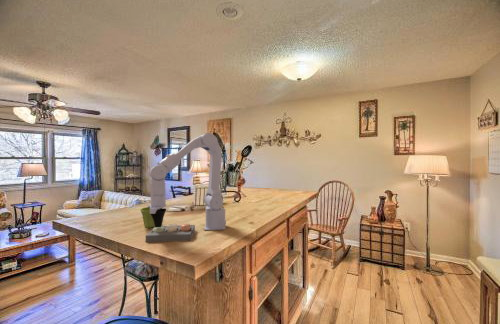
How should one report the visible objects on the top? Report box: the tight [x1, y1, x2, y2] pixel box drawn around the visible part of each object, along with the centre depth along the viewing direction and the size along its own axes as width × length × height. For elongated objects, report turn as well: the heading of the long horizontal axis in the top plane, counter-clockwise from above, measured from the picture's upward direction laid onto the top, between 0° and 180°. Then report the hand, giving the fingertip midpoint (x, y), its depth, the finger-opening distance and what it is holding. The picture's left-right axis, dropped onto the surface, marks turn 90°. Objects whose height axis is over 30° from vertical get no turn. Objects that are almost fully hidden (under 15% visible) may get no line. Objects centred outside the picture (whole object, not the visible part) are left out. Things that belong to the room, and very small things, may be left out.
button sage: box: [152, 227, 164, 232], centre depth 94 cm, size 4×4×3 cm
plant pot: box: [139, 206, 155, 229], centre depth 108 cm, size 9×9×9 cm
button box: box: [145, 224, 196, 243], centre depth 95 cm, size 17×12×3 cm
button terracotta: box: [179, 223, 191, 232], centre depth 95 cm, size 4×4×3 cm
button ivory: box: [166, 223, 178, 232], centre depth 95 cm, size 4×4×3 cm
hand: (158, 226), depth 94 cm, fingers closed
